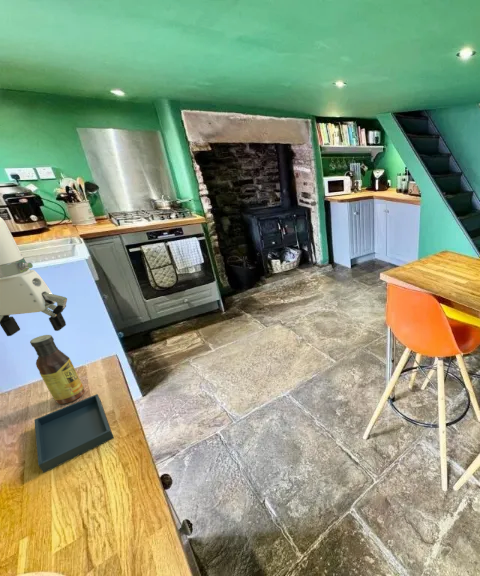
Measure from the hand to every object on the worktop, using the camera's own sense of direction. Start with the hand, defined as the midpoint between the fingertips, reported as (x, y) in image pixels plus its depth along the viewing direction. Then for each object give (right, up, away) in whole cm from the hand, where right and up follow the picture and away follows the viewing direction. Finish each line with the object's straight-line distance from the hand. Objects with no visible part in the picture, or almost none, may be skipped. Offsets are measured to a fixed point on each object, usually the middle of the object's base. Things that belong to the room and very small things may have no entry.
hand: (37, 330), depth 78 cm
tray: (+11, -26, -2) cm, 28 cm away
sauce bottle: (-1, -21, +9) cm, 23 cm away
